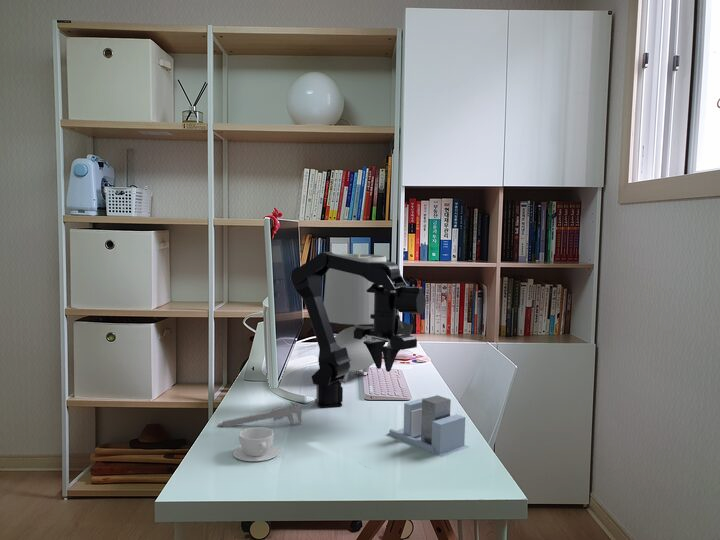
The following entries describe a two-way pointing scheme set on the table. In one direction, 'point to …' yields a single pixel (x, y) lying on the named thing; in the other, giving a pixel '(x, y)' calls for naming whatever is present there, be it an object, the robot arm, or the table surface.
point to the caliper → (267, 416)
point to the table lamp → (351, 310)
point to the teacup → (256, 445)
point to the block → (433, 415)
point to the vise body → (440, 436)
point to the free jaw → (413, 418)
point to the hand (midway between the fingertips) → (383, 370)
